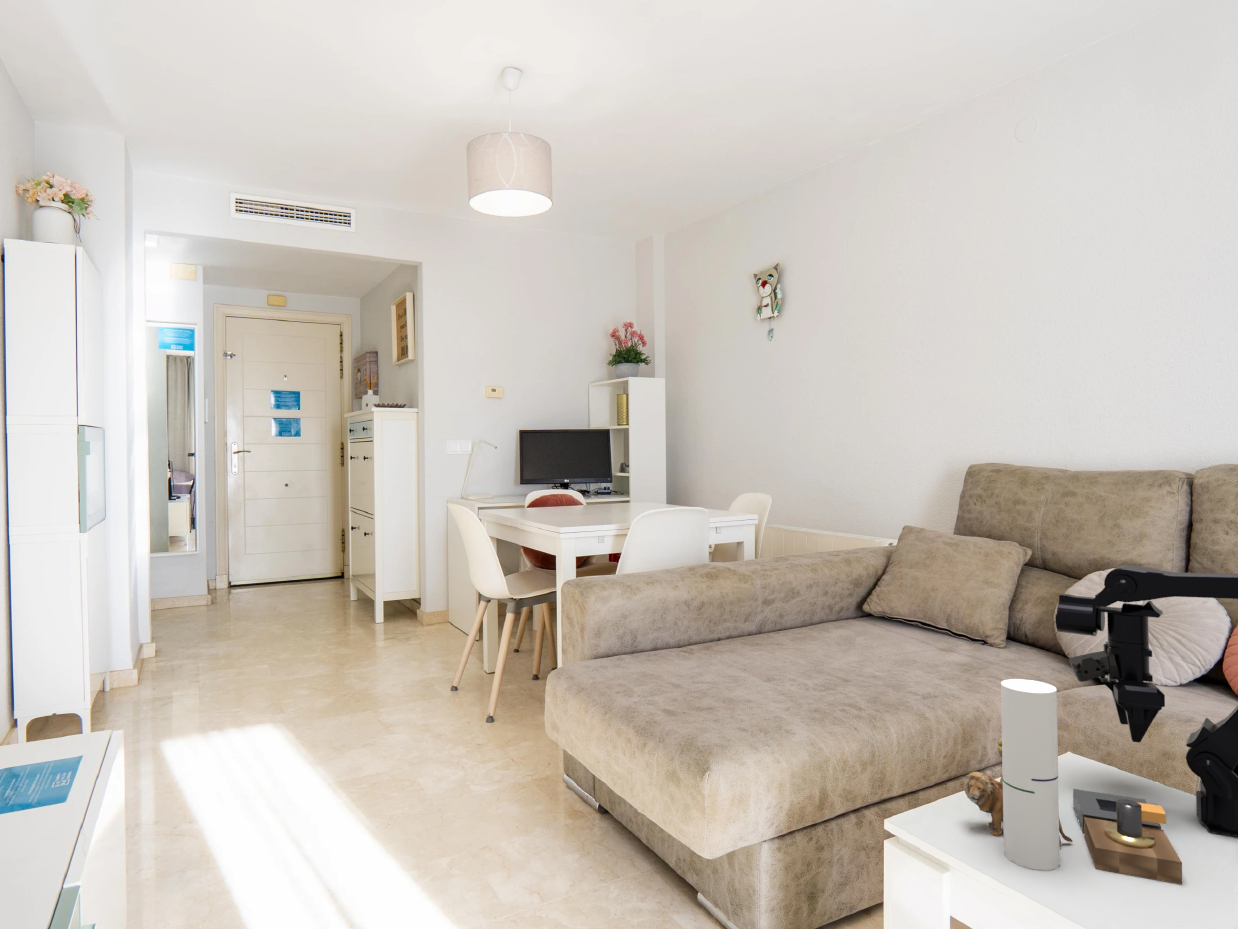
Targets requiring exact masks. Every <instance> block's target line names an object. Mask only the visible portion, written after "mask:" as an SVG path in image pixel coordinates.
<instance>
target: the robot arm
mask: <svg viewBox="0 0 1238 929" xmlns="http://www.w3.org/2000/svg"><path fill="white" fill-rule="evenodd" d="M1103 586H1104V587H1103V588H1102V590H1101V591H1099V592H1097V593H1096V594H1094V597H1092V596H1079V595H1073V594H1070V593H1061V594H1059V596H1058V598H1059V599H1058V604H1057V609H1056V613H1055V617H1054V618H1055V626H1056V627H1055V628H1056V631H1057V632H1058V633H1064V634H1065V633H1066V634H1072V635H1073V634H1074V635H1083V636H1088V637H1089V636H1090V637H1096V636H1097V635H1098V632H1104V631H1105V625H1106V620H1107V641H1105V643H1103V650H1101V651H1096V652H1095V651H1094V652H1090V653H1085V654H1081V655H1077V656H1072V657H1069V658H1068V662H1069V664H1070V666H1071V668H1072V670H1073V673H1074V676H1075V677H1076V679H1077V681H1078V682H1081V683H1082V682H1083V683H1084V682H1088V681H1089V680H1092V679H1096V678H1099V679H1100V681H1101V682H1102V683H1103V684H1104V685H1105V687H1107V688H1108V689H1109V690H1110V691H1111V694H1112V698H1113V702H1114V705H1115V709H1116V712H1117V715H1118V720H1119V723H1120V724H1121V725H1128V729H1129V730H1128V731H1129V734H1130V738H1131V741H1132V742H1133V743H1141V742H1142V740H1143V738H1144V737H1145V735H1146V733H1147V731H1148V730H1149V728H1150V726H1151V724H1152V723H1153V721H1154V720H1155V719H1156V717H1157V715H1158V714H1159V712H1160V711H1162V709H1163V708H1165V707H1166V704H1165V703H1166V702H1165V698H1166V697H1165V696H1166V695H1165V694H1164V692H1163V691H1161V690H1160V688H1158V687H1157V686H1156V685H1155V684H1154V683H1153V680H1154V679H1153V675H1152V674H1151V672H1150V658H1153V650H1152V649H1150V643H1149V641H1150V640H1149V638H1150V635H1149V618H1158V619H1159V618H1160V617H1162V615H1163V614H1164V613H1163V610H1161V609H1160V608H1158V607H1157V606H1156V605H1155V603H1153V601H1154V600H1157V599H1158V600H1159V599H1164V598H1174V597H1176V598H1177V597H1178V598H1180V597H1181V598H1200V599H1201V598H1203V599H1210V598H1211V599H1234V600H1235V599H1236V600H1238V573H1228V572H1227V573H1222V572H1221V573H1220V572H1219V573H1217V572H1216V573H1214V572H1213V573H1212V572H1175V571H1166V570H1162V569H1158V568H1152V567H1147V566H1140V565H1133V564H1121V565H1119V566H1117V567H1116V568H1114V569H1112V570H1110V571H1109V572H1108V573H1107V574H1106V576H1105V577H1104V584H1103ZM1152 600H1153V601H1152ZM1143 601H1144V602H1145V601H1147V602H1146V603H1145V604H1136V603H1135V602H1143ZM1116 602H1119V603H1120V602H1122V603H1123V604H1122V606H1121V607H1111V606H1110V605H1113V604H1115V603H1116ZM1106 614H1107V616H1106ZM1106 618H1107V619H1106ZM1185 746H1186V747H1187V748H1188V749H1187V751H1186V756H1185V760H1186V763H1187V766H1188V767H1189V769H1190V771H1191V772H1192V773H1193V774H1194V775H1196V776H1197V777H1199V779H1200V781H1199V783H1200V784H1199V787H1200V788H1199V790H1196V791H1195V793H1196V794H1195V799H1196V800H1195V801H1196V802H1195V804H1196V817H1197V818H1198V820H1200V822H1201V824H1203V826H1204V827H1205V828H1206V830H1207V831H1208V832H1210V833H1212V834H1213V833H1214V834H1220V835H1225V836H1226V835H1227V836H1232V837H1233V836H1234V837H1238V705H1236V707H1234V709H1233V710H1232V711H1231V712H1229V714H1228V715H1227V716H1226V717H1225V718H1223V719H1222V720H1220V721H1218V722H1216V723H1214V722H1213V721H1211V720H1210V719H1209V718H1208V717H1205V718H1204V720H1203V722H1202V724H1201V725H1200V727H1199V729H1197V730H1196V731H1194V732H1191V733H1189V737H1188V740H1187V741H1186V744H1185Z"/></svg>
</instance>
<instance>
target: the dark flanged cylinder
mask: <svg viewBox="0 0 1238 929" xmlns="http://www.w3.org/2000/svg"><path fill="white" fill-rule="evenodd" d="M1116 812H1117V823H1111V824H1107V825H1106V826H1105V835H1106V836H1107V837H1108V838H1109V839H1111V840H1113V841H1115V842H1117V843H1119V844H1122V845H1125V846H1129V847H1134V848H1151V847H1153V846H1154V845H1155V838H1154V836H1153V835H1152V834H1151V833H1149V832H1148V831H1146V830H1144V829H1142V811H1141V805H1140V804H1139V803H1137V802H1135V801H1131V800H1127V799H1118V800H1117V801H1116Z"/></svg>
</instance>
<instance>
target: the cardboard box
mask: <svg viewBox="0 0 1238 929" xmlns="http://www.w3.org/2000/svg"><path fill="white" fill-rule="evenodd" d="M1137 803H1138V802H1137ZM1139 804H1140V805H1141V811H1142V821H1147V822H1153V823H1159V824H1160V825H1167V814H1166V811H1165V810H1164V808H1163V807H1162V806H1161V805H1157V804H1153V803H1148V804H1145V803H1139Z"/></svg>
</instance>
